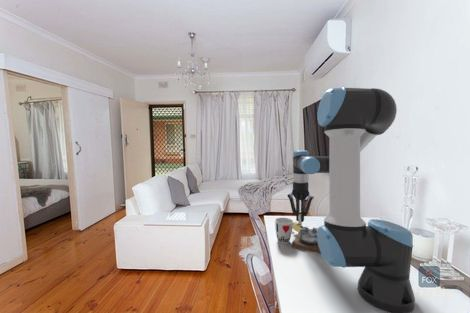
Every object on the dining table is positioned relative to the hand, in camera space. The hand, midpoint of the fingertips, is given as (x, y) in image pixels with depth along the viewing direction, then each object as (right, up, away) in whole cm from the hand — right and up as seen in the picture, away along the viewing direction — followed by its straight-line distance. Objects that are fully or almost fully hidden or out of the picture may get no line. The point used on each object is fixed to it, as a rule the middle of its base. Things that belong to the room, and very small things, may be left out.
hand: (300, 227), depth 122 cm
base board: (+2, -4, -12) cm, 13 cm away
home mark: (-4, -3, +3) cm, 6 cm away
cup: (-10, -4, -9) cm, 14 cm away
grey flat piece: (0, -2, -8) cm, 8 cm away
